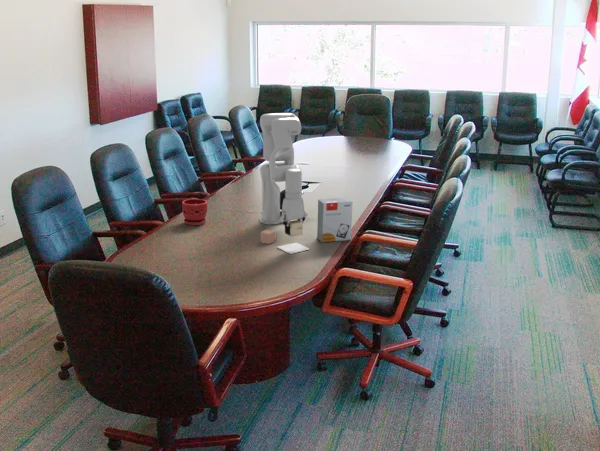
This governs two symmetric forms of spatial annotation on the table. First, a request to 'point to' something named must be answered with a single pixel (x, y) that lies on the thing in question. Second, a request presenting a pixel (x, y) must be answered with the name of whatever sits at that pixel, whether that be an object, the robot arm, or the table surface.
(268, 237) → the terracotta block
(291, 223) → the maple block
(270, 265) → the table surface
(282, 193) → the black ball on stand
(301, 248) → the felt coaster
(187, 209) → the plant pot
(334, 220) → the hard drive box
